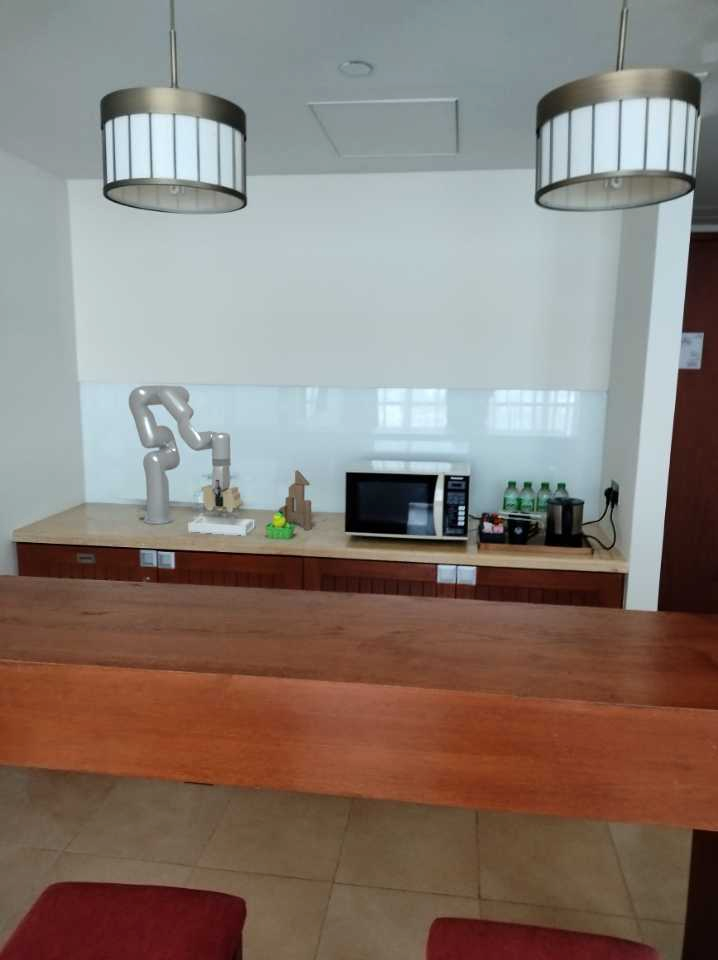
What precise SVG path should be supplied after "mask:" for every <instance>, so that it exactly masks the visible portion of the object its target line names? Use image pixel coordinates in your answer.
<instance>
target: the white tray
mask: <svg viewBox="0 0 718 960" xmlns="http://www.w3.org/2000/svg"><path fill="white" fill-rule="evenodd" d="M187 526H188V529H187V530H188V533H190V532H200V533H199V534H206V533H212V534H211V535H221V534H224V536H237V535H241V536H240V537H246V536H247V534H248V535H249V534H251V532H252V530H253V531H254V530H255V529H256V519H252V518H251V519H250V518H236V517H235V518H233V517H221V516H218V517H216V516H202V515H200V516H198V517H197V518H196V519H194V520H192V521H190V522H188V523H187Z"/></svg>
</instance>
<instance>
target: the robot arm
mask: <svg viewBox="0 0 718 960" xmlns="http://www.w3.org/2000/svg"><path fill="white" fill-rule="evenodd" d="M189 401H190V393H189V391H188V390H187V389H186V388H185V387H183V386H180V385H175V386H174V385H141V386H138V387H135V388H134V389H133V390H131V392H130V394H129V396H128V407H129V410H130V413H131V415H132V416H133V419H134V422H135V423H134V424H135V428H136V430H137V434H138V437H139V441H140V443H141V446H142V447H143V448H145V449H156V448H158V449H157V450H153V451H149V452H148V453H146V454H145V456H144V457H143V460H142V464H143V470H144V474H145V483H146V485H145V487H146V488H145V489H146V511H145V510H140V511H139V516H140V517H144V518H143V522H144V523H145V524H148V525H161V524H163V525H165V524H169V523H172V522H174V517H173V516H171V515H170V486H169V478H168V476H167V474H166V472H167V471H171V470H175V469H176V468H178V466H180V461H181V457H180V453H179V452H180V451H179V449H178V446H177V442H176V439H175V435H174V433H173V431H172V430H171V428H170V427H168V426H166V425H158V424H157V422H156V418H155V415H154V413H153V412H152V410H151V409H150V408H149V406H159V405H160V406H161V405H162V406H163V407H164V408H165V409H166V411H167V412H168V413H169V414H170V416H171V417H172V418H173V419H174V420H175V421H176V423H177V430H178V434H179V436H180V438H181V439H182V440H183V441H184V443H185V444H186V445H187V446H188V447H189V448H190V449H191V450H193V451H196V452H198V451H199V452H200V451H204V450H211V455H212V456H211V461H212V464H211V465H212V466H211V467H212V471H211V472H212V474H211V475H212V476H211V485H212V489H213V490H214V492H215V505H216V506H223V497H222V493H223V490H225V489H230V486H231V472H230V471H231V470H230V467H231V435H230V434H229V433H227V432H217V431H211V430H208V431H206V430H205V431H200V432H199V431H197V430H196V429H195V428H194V427H193V425H192V424H191V419H192V418H193V416H194V414H195V413H194V409H193V408H192V406H191V405H189ZM218 488H221V489H218ZM219 491H221V492H219Z"/></svg>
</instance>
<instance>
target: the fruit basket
mask: <svg viewBox="0 0 718 960" xmlns="http://www.w3.org/2000/svg"><path fill="white" fill-rule="evenodd" d="M272 517H273V518H272V522H269V523H268V524H266V525H265V526H264V529H265V531H266V535H267V538H268V539H274V540H286V541H289V540H290V539H292V538H293V535H294V533H295V528H296V524H292V523H291V524H288V523H286V524H285V521H286V519H285V518H284V517H283V516H282V514H281V513H278V512H277V513H275V514H274V515H273V516H272Z"/></svg>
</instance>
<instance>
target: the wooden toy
mask: <svg viewBox="0 0 718 960" xmlns="http://www.w3.org/2000/svg"><path fill="white" fill-rule="evenodd" d="M294 473H295V475H294V483H291V485H290V486H289V487H288V496H287V497H285V505H283V506H281V507H280V508H279V509H278V511H277V513H281V514H282V516H283V517H284V518H285V519H286V521H285V524H286V523H288V524H292V521H297V522H298V523H299V525H300V528H302V529H303V530H304V531H311V530H312V500H310V499H305V489H306V488H305V486H310V485H311V484H310V482H309V481H308V480H307V479H306V478H305V477H304V475H303V474H302V473H301V471H299V470H298V469H297V470H295V471H294Z"/></svg>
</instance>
